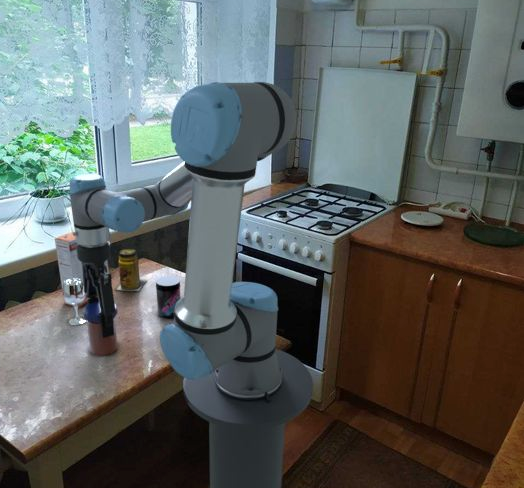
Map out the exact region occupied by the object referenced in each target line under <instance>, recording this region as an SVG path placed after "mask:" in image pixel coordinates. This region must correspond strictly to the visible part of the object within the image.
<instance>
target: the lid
mask: <svg viewBox="0 0 524 488" xmlns="http://www.w3.org/2000/svg"><path fill="white" fill-rule="evenodd" d="M115 310H116V313H113V314H112V317H113V318H114V317H115V318H116V316H117V315H118V307H117V304H116V303H115ZM98 313H101V309H100V305H99V301H96V302H93V303H90V304H88V303H87V304H86V305H85V306H84V307H83V317H84V318H85V320H86V322H87V321H89V322H101V321H100V316H99V315H98Z"/></svg>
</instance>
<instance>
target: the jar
mask: <svg viewBox="0 0 524 488" xmlns="http://www.w3.org/2000/svg"><path fill="white" fill-rule="evenodd" d="M86 326H87V327H86V328H87V334H88V344H89V351H90V353H91V354H92V355H94V356H98V357H99V356H108V355H110V354H113V353H115V352H116V351H117V350H118V347H119V346H118V335H117V325H116V316H115V317H114V318H113V328H114V335H112V336H109V337H106V338H103V337H102V331H101V322H89V321H87V320H86Z"/></svg>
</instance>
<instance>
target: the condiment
mask: <svg viewBox="0 0 524 488" xmlns="http://www.w3.org/2000/svg"><path fill="white" fill-rule="evenodd" d="M139 264H140V263H139V258H138V255H137V250H135V249H132V248H125V249H122V250H120V251H119V252H118V271H119V286H117V288H116V289H115V290H116V291H124V292H140V290H141V289H142V288H143V286H144V285H145V283H146V282H147V279H141V278H140V266H139Z"/></svg>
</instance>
